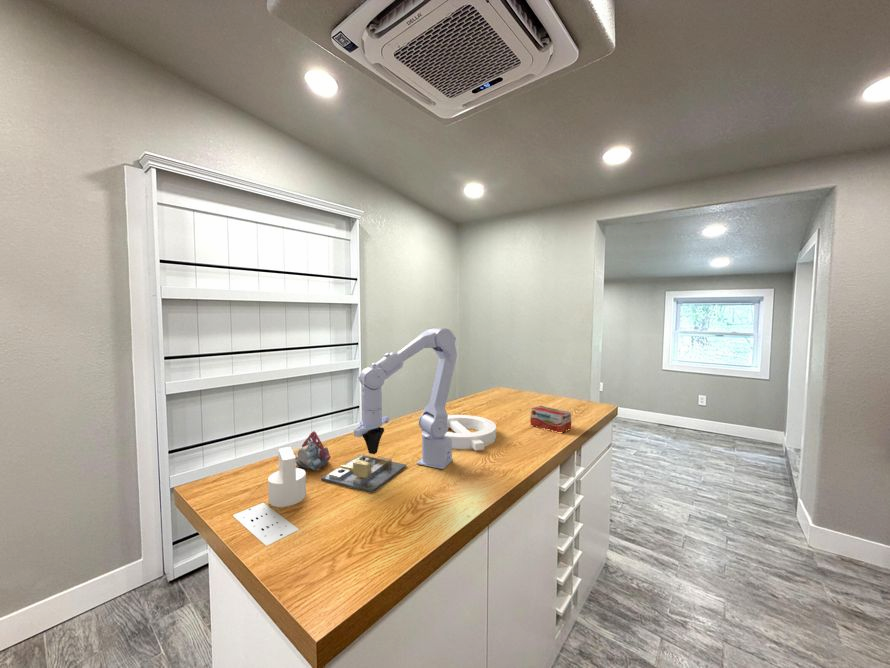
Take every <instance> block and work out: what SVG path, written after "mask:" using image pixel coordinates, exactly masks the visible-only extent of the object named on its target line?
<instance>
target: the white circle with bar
mask: <svg viewBox="0 0 890 668" xmlns="http://www.w3.org/2000/svg"><path fill="white" fill-rule="evenodd" d="M447 415H448V418H447V424H448V430H449V428H451V430H452V431H454V432H451V431H447V432H446V434H445V436H446V437H449V438H451V440H452V450H453V449H455V450H474V451H482V450H485V448H484V447H488V446H489V444H490V445H491V443H492V444H493V443H494V442H495V441H496V440H497V425H496V423H495V422H493V421H492V420H490V419H488V418H485V417H482V416H477V415H468V414H447ZM469 428H471V429H470V430H474V429H475V431H474V432H471V431H470V430H469ZM495 439H496V440H495Z"/></svg>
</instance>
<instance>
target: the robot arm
mask: <svg viewBox="0 0 890 668" xmlns="http://www.w3.org/2000/svg"><path fill="white" fill-rule="evenodd" d="M456 339H457V338H456V336H455V335H454V333H453V331H452V330H450V329H449V328H447V327H444V328H439V327H430V328H428V329H427V330H425V331H422V332H420V334H419V335H418V336H417V337H416V338H414V339H413V340H412V341H410V342H409V343H408V344H407V345H406V346H404V347H403V348H402V349H400V350H399V351H397V352H395V351H394V352H393V351H391V352H390V353H389V352H386V353H384V354H383V356H384V357H382V358H381V359H379V360H378V361H377V362H372V364H371V366H368V367H366V368H363V369H362V371H361V373H360V375H359V376H358V380H359V382H360V384H361V391H362V392H361V406H362V408H361V409H362V410H361V411H362V413H361V414H362V421H359V425H358V427H357V428H355V429H353V436H354V437H355V438H356V437H357V438H362V439H363V440H364V441H365V444H366V447H367V451H368V454H369V455H370V454H371V455H376V454H377V453H378V450H379V446H380V441H381V439H382V436H383V434H384V433H385V427H382V426H383V425H384V424H389V422H390V418H389V416H387V415H383V404H382V403H383V401H382V400H383V399H382V398H383V397H382V393H383V392H382V387H383V386H384V383H385V381H386V380H387V379H388V378H390V377H392V376H393V375H394V374H395V373H396V372H398V371H399V370H401V369H402V368H403V366H404V362H405V361H406V360H408V359H410V358H411V357H413V356H414V355H417V353H419V352H421V351H422V350H424V349H433V350H434V352H435V353H436V354H437V356H438V357H439V359H438V362H437V368H436V373H435V375H434V380H433V384H432V385H433V386H432V389H431V393H430V399H429V401H428V402H429V403H428V404H427V405H426V406H424V407H423V408H424V409H423V412H422V413H421V415H420V416H419V419H418V425H419V428H420V429H421V430H422V431H421V459H419V460H418V461H417V462H416V464H417V465H421V466H426V467H431V468H435V469H439V470H444V469H445V468H446V467H447V466H448V465H450V464H451V462H452V461H453V449H452V440H451V438H449V437H446V436H445V434H446V432H448V430H449V429H448V424H447V418H448V415H449V414H448V412H447V410H446V404H447V401H448V396H449V392H450V387H451V383H452V380H453V379H452V378H453V375H454V370H455V366H456V361H457V357H458V355H457V354H458V353H457V349H456V347H457V346H456V342H457V341H456Z"/></svg>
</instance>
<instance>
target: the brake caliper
mask: <svg viewBox="0 0 890 668" xmlns="http://www.w3.org/2000/svg"><path fill="white" fill-rule="evenodd" d="M294 455H295V454H294ZM295 457H296V468H298V467H300V468H305V469H310V470H312V471H318V470H319V469H322V468H323V466H326V465H327V464H328V462H329V460H330V459H331V458H332V457H331V455H330V452H329V448H328V447H327V446H325V447H324V445H323V443H322V441H321V439H320V437H319V436H318V434H317V432H316V431H315V430H313V431H311V433H309V435H308V436H307V438H306V439H305V440H304V441H303V443H302V445H301V447H300V448H299V449H298V450H297V454H296V455H295Z"/></svg>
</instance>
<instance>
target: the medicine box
mask: <svg viewBox="0 0 890 668" xmlns="http://www.w3.org/2000/svg"><path fill="white" fill-rule="evenodd" d="M529 420H530V426H531V425H533V426H537V427H541V428H545V429H550V430H553V431H557V432H564V431H566V430H568V429H570V428H571V429H572V412H571V411H568V410H564V409H558V408H553V407H548V406H544V405H538V406H535V407H531V408H530V419H529ZM533 426H532V427H533ZM537 427H536V428H537ZM541 428H540V429H541ZM566 432H567V431H566ZM564 433H565V432H564Z"/></svg>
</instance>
